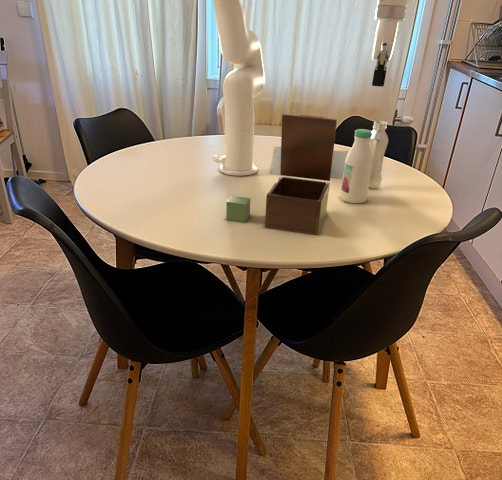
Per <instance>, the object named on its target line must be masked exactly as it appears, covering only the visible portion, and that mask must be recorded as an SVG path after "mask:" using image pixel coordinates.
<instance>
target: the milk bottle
mask: <svg viewBox="0 0 502 480" xmlns="http://www.w3.org/2000/svg"><path fill="white" fill-rule="evenodd" d="M372 131H373V130H370V129H366V128H365V129H364V128H358V129H356V130H354V137H353V138H354V142H353V144H352V147H351V148H350V149H349V152H347V153H348V155H347V158H346V162H345V168H344V174H343V178H342V181H341V182H342V183H341V189H340V199H341V200H342V201H343V202H345V203H346V202H347V203H351V204H362V203H365V202H366V201H367V198H368V194H369V189H370V187H369V182H370V176H371V170H372V153H371V150H370V140H371V136H372Z"/></svg>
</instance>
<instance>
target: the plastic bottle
mask: <svg viewBox="0 0 502 480" xmlns="http://www.w3.org/2000/svg"><path fill="white" fill-rule="evenodd" d="M387 125H388V122H387V121H383V120H375V121H373V125H372V130H371V131H372V136H371V140H370V150H371V153H372V170H371V176H370V182H369V189H370V188H372V189H373V188H378V187H380V185H381V183H382V181H383V173H382V172H383V162H384V157H385V154H386V150H387V147H388V144H389V137H388V134H387V133H386V130H387Z"/></svg>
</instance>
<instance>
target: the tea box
mask: <svg viewBox="0 0 502 480" xmlns="http://www.w3.org/2000/svg"><path fill="white" fill-rule="evenodd" d="M330 185H331V183H330V181H323V180H315V179H307V178H299V177H291V176H283V175H280V176H279V177H278V178H277V180H276V181H275V182H274V184H273V186H271V188H269V191H268V192H267V193H266V196H265V197H266V198H265V214H264V228H266V229H271V230H280V231H287V232H293V233H300V234H307V235H312V236H313V235H314V236H318V235H319V233H320V230H321V227H322V226H323V222H324V219H325V217H326V214H327V209H328V201H329V192H330Z"/></svg>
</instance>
